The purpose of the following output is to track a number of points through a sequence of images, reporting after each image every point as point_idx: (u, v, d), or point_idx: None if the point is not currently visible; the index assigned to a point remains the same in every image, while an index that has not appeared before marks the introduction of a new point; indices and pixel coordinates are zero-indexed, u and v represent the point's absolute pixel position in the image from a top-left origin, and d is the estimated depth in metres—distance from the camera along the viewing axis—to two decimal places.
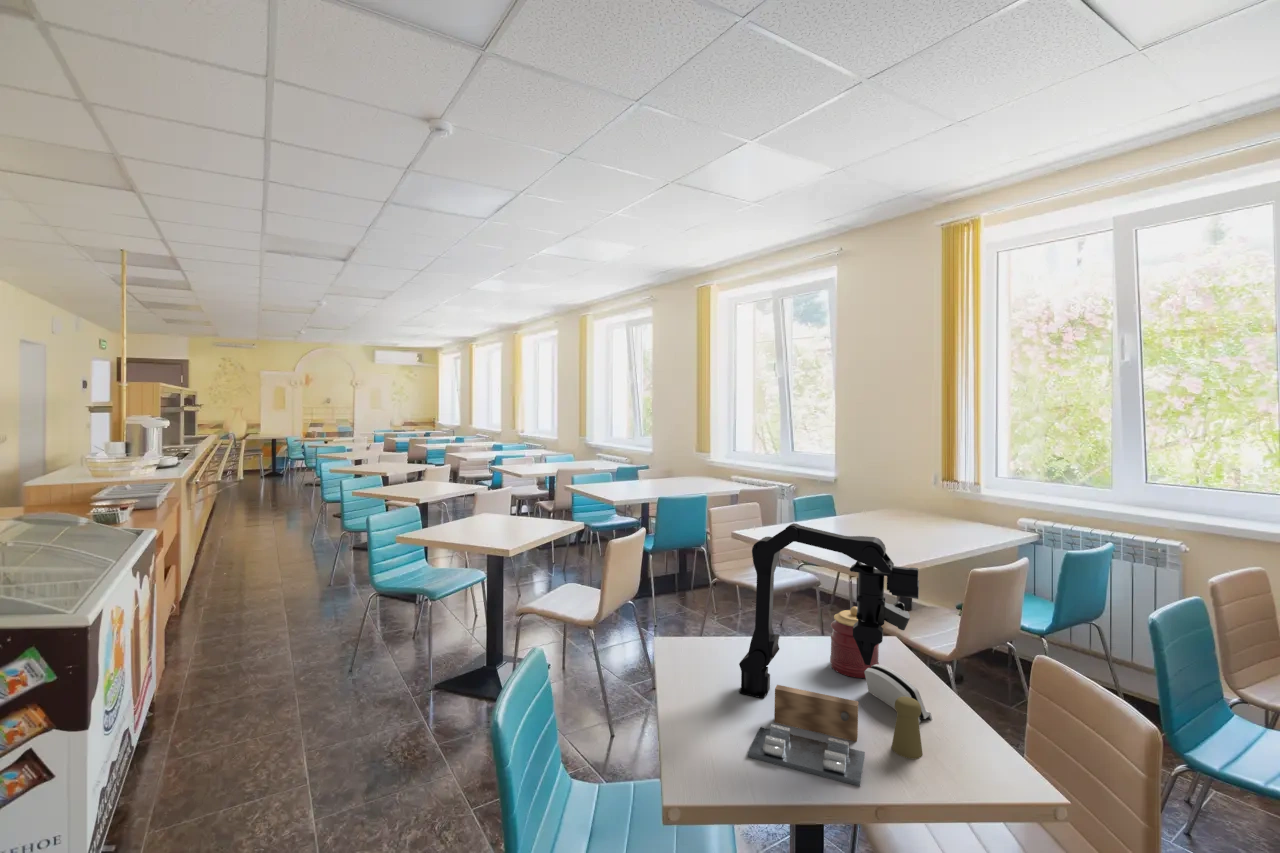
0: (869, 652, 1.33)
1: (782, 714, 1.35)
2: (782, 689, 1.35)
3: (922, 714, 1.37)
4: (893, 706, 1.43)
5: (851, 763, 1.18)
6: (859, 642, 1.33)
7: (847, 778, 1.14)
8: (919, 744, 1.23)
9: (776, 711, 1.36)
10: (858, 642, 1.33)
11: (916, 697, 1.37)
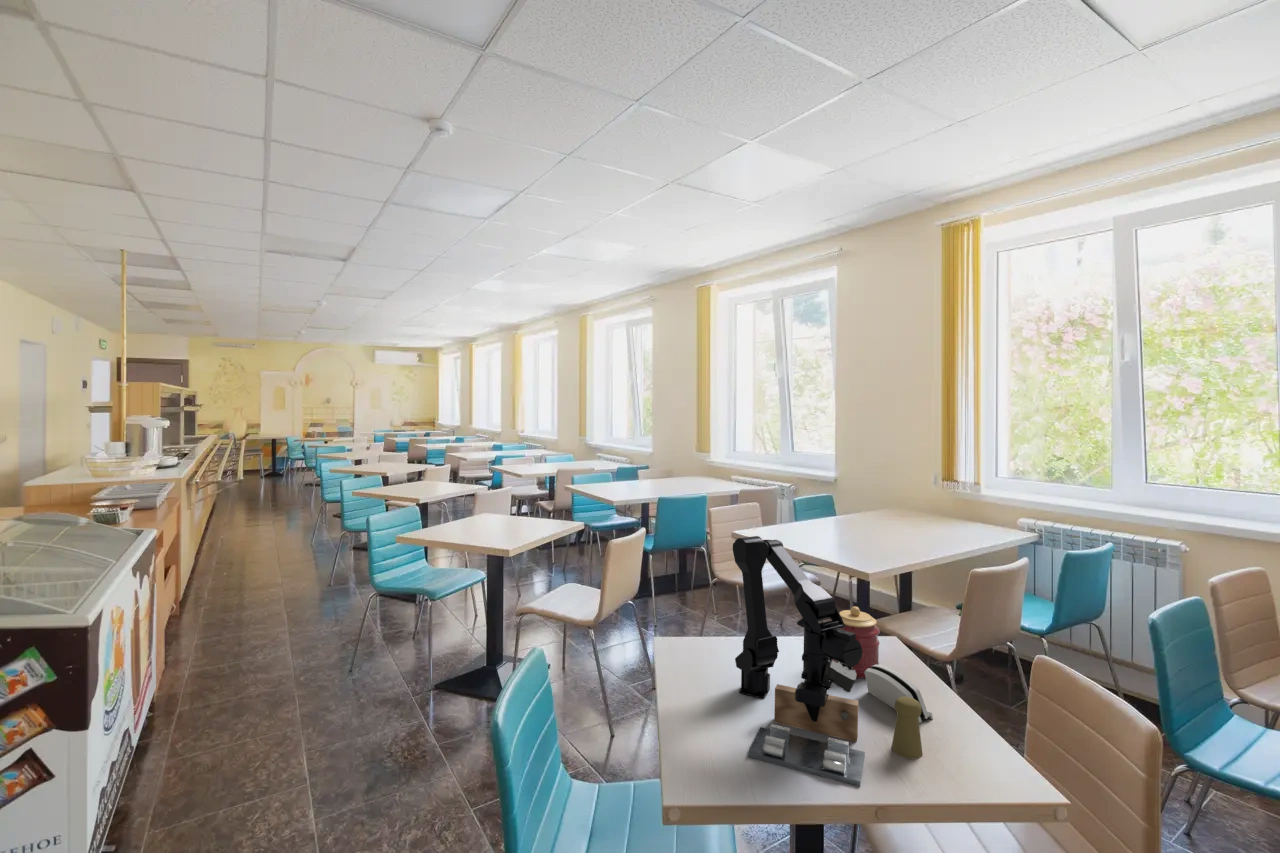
0: (815, 708, 1.30)
1: (782, 713, 1.35)
2: (782, 689, 1.35)
3: (923, 714, 1.37)
4: (894, 706, 1.43)
5: (851, 763, 1.18)
6: None
7: (847, 778, 1.14)
8: (919, 744, 1.23)
9: (776, 710, 1.36)
10: None
11: (917, 697, 1.37)
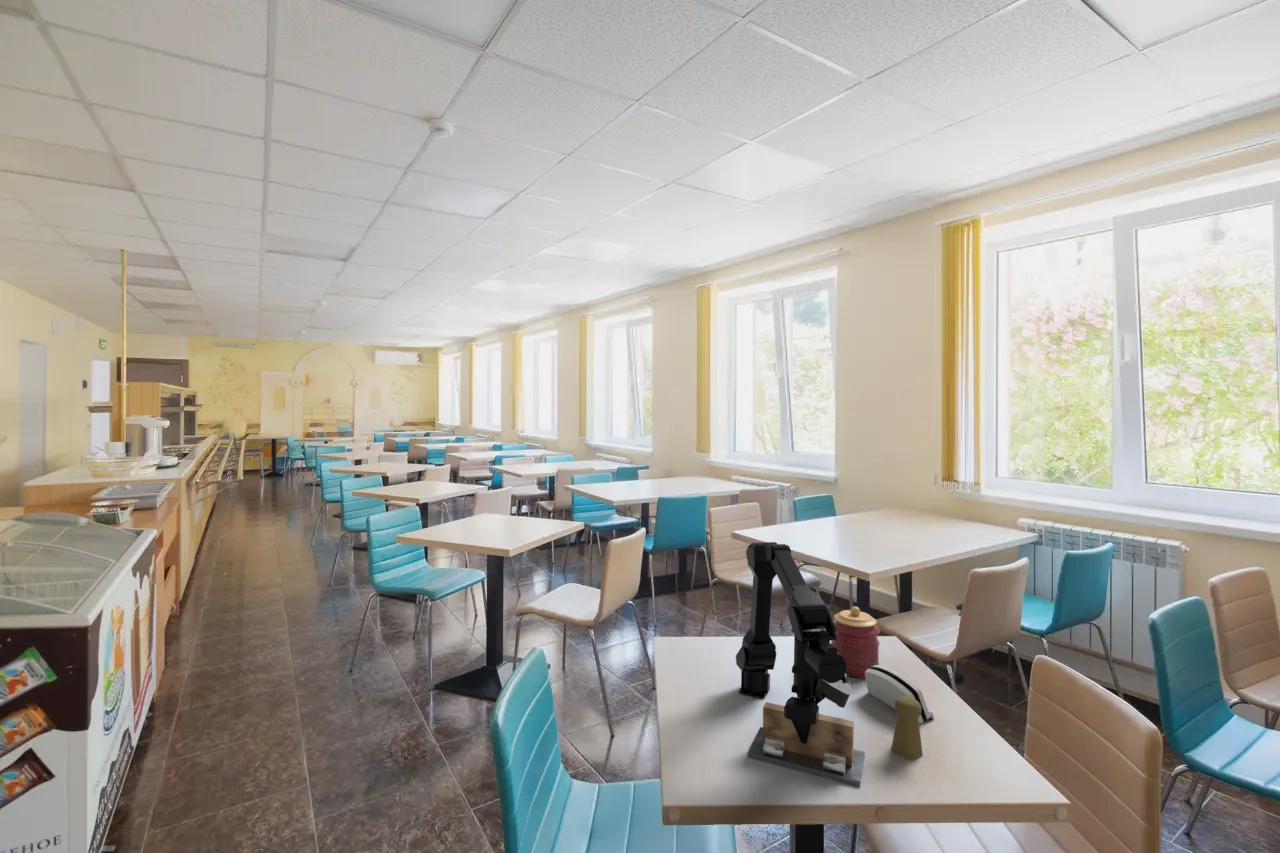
0: (805, 730, 1.18)
1: (771, 734, 1.24)
2: (770, 708, 1.24)
3: (925, 714, 1.37)
4: (894, 707, 1.43)
5: None
6: None
7: (847, 778, 1.14)
8: (919, 744, 1.23)
9: (764, 731, 1.25)
10: None
11: (919, 697, 1.37)
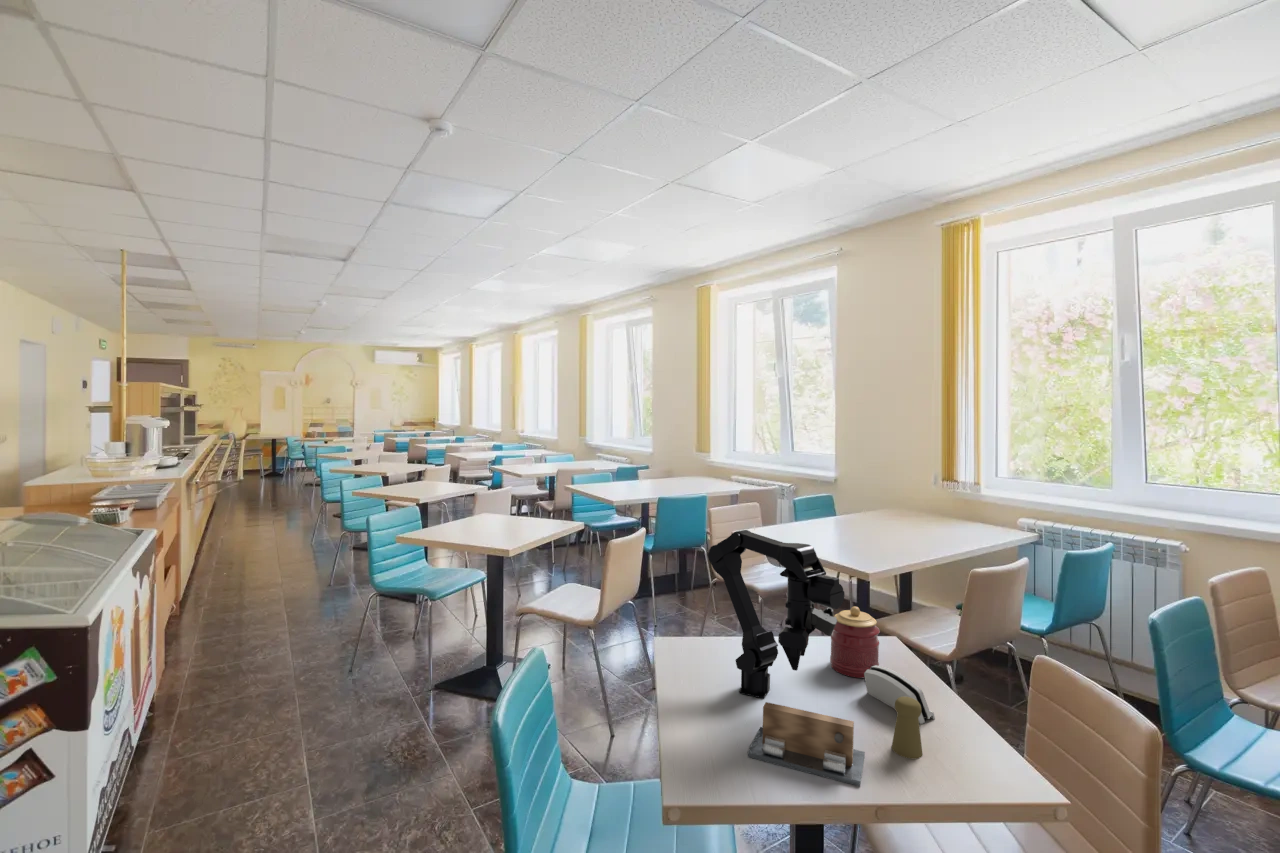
0: (796, 657, 1.35)
1: (771, 734, 1.24)
2: (770, 708, 1.24)
3: (926, 714, 1.37)
4: None
5: None
6: (786, 648, 1.35)
7: (847, 778, 1.14)
8: (919, 744, 1.23)
9: (764, 731, 1.25)
10: (785, 648, 1.35)
11: (920, 697, 1.37)
